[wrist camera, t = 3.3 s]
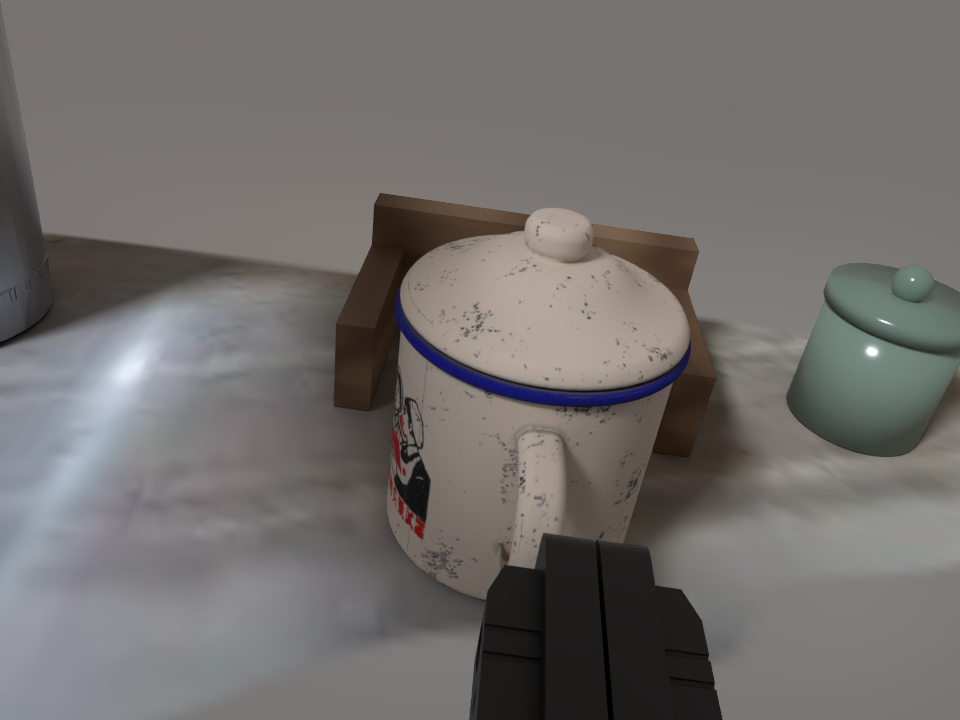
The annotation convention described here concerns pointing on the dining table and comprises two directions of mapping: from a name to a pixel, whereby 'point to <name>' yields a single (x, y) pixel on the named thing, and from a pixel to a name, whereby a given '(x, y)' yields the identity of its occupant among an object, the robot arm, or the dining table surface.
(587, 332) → the teacup with lid
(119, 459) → the dining table surface
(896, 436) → the green ceramic sugar pot
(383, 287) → the walnut cup holder
